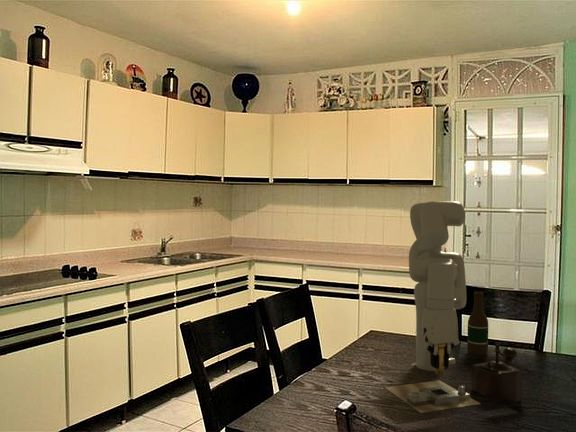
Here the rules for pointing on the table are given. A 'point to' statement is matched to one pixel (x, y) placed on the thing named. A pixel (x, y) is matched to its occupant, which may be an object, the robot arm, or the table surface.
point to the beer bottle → (477, 328)
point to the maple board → (409, 388)
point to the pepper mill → (498, 377)
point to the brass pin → (440, 359)
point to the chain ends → (437, 396)
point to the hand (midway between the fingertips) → (439, 366)
